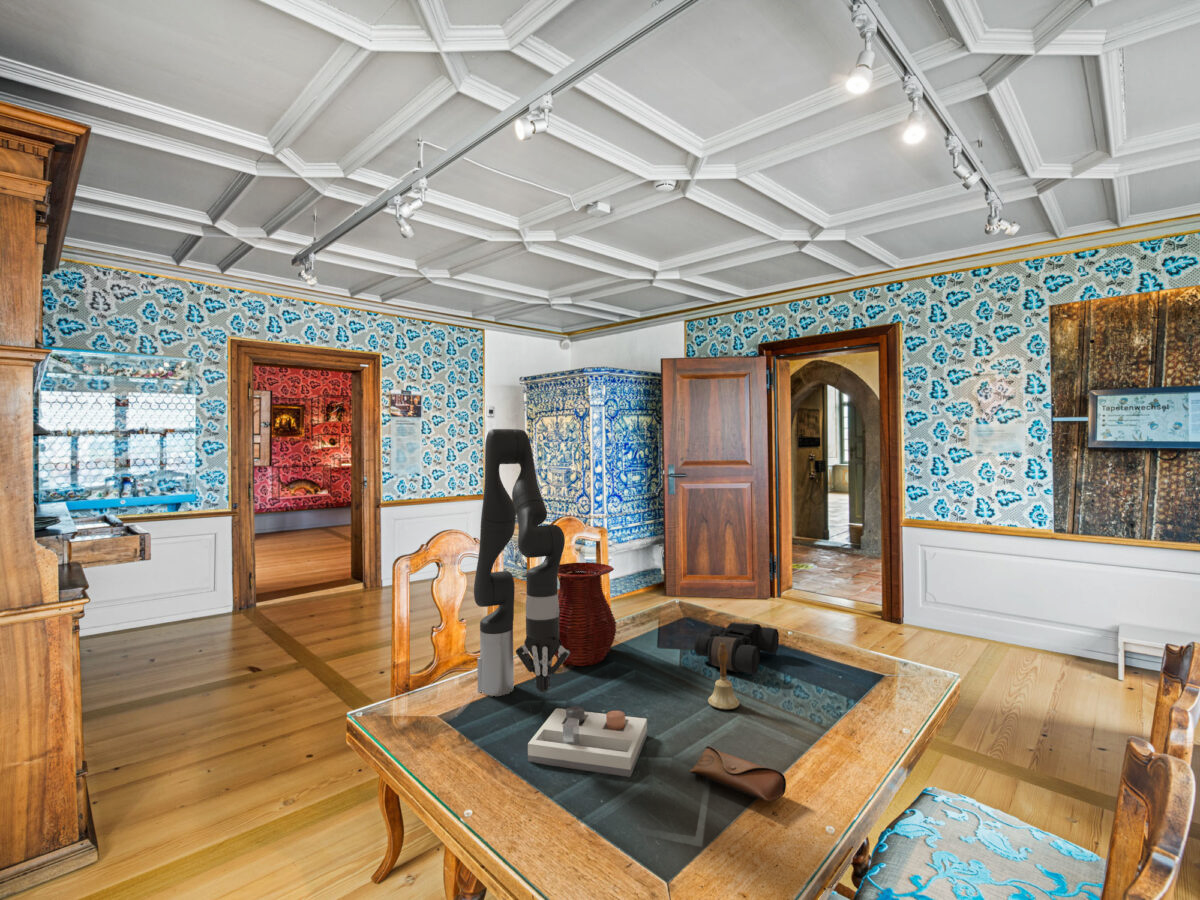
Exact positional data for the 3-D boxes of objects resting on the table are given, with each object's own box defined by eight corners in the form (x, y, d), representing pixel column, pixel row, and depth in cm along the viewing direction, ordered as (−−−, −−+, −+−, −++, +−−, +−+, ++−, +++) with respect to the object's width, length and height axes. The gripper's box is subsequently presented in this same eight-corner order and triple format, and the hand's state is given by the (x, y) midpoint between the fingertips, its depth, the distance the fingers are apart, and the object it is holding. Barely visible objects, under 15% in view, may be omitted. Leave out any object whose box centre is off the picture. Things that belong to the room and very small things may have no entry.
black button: (563, 724, 134) (563, 713, 134) (569, 715, 138) (569, 705, 138) (581, 726, 133) (581, 715, 133) (586, 717, 137) (586, 707, 137)
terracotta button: (604, 729, 131) (604, 717, 131) (609, 720, 135) (609, 709, 136) (622, 731, 130) (622, 720, 130) (627, 722, 134) (627, 711, 134)
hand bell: (740, 710, 148) (739, 649, 148) (707, 708, 150) (707, 647, 150) (738, 697, 156) (738, 639, 156) (708, 695, 158) (707, 637, 158)
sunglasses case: (685, 770, 117) (695, 737, 120) (698, 781, 121) (707, 748, 125) (770, 802, 106) (778, 765, 109) (781, 813, 110) (789, 776, 113)
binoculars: (752, 681, 167) (751, 647, 167) (688, 668, 178) (687, 636, 178) (779, 652, 191) (779, 622, 191) (721, 642, 202) (721, 614, 202)
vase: (575, 643, 202) (574, 559, 203) (630, 656, 189) (629, 566, 189) (530, 663, 183) (529, 570, 184) (588, 679, 170) (587, 579, 170)
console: (527, 762, 124) (527, 743, 124) (556, 724, 142) (556, 708, 142) (630, 777, 118) (630, 757, 118) (647, 735, 135) (646, 718, 135)
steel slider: (563, 751, 125) (562, 725, 125) (569, 742, 129) (568, 717, 129) (573, 752, 124) (573, 727, 124) (579, 743, 128) (578, 718, 128)
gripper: (508, 616, 127) (509, 694, 126) (564, 620, 123) (565, 700, 123) (522, 608, 134) (523, 682, 133) (575, 611, 130) (576, 687, 130)
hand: (543, 690), depth 128 cm, fingers closed
